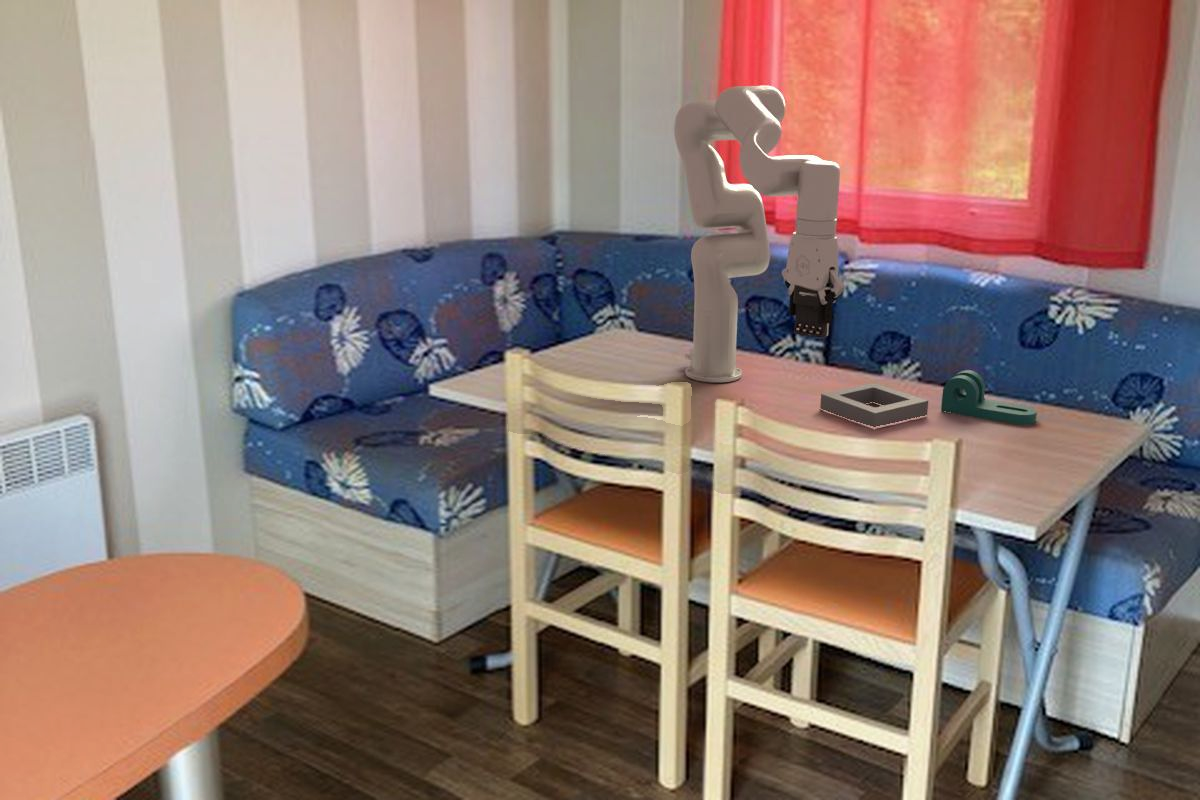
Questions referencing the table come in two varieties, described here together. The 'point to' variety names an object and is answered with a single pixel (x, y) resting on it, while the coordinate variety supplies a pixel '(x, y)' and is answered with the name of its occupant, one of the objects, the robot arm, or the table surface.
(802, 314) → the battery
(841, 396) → the frame
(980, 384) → the bracket
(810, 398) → the table surface
